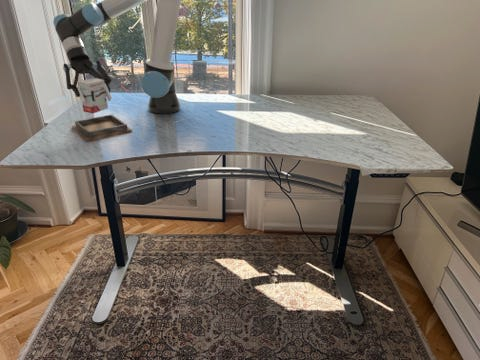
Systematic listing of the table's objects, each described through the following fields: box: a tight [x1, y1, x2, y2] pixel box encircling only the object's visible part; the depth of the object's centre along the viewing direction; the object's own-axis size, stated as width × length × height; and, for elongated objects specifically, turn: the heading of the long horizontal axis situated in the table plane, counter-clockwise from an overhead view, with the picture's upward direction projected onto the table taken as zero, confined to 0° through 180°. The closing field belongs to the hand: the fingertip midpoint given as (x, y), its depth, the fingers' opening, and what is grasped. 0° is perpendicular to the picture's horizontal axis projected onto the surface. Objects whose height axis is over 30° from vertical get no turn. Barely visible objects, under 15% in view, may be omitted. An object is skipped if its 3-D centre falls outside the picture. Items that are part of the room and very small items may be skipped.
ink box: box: [78, 77, 109, 114], centre depth 134 cm, size 8×5×12 cm, turn 153°
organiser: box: [71, 114, 133, 142], centre depth 140 cm, size 18×18×3 cm
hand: (97, 101), depth 133 cm, fingers closed on ink box, 9 cm apart
